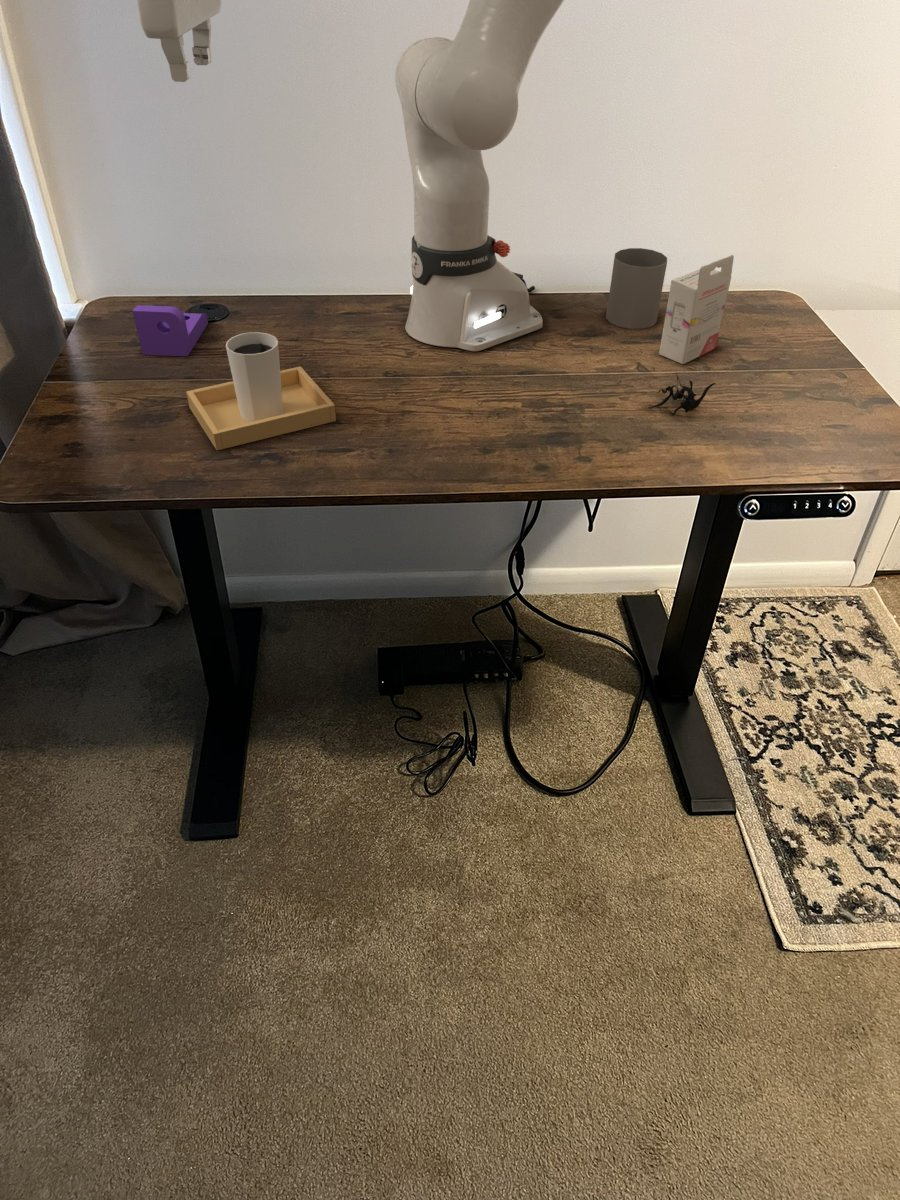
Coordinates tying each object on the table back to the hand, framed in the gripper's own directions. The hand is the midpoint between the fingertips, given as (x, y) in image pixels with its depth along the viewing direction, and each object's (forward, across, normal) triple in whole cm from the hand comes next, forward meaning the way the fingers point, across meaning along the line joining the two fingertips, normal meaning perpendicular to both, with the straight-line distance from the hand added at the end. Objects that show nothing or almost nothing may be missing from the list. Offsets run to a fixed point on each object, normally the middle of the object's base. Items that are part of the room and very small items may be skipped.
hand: (192, 72), depth 101 cm
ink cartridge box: (+38, +13, -67) cm, 78 cm away
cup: (+38, +25, -60) cm, 75 cm away
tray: (+38, -11, -6) cm, 40 cm away
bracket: (+39, +12, +12) cm, 42 cm away
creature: (+38, -5, -63) cm, 74 cm away
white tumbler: (+38, -11, -6) cm, 40 cm away
